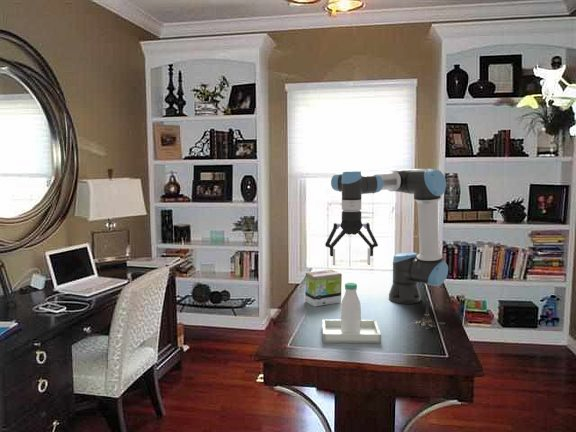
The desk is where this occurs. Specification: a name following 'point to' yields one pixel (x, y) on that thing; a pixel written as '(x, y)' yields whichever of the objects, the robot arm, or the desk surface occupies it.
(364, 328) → the tray
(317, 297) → the tea box
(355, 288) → the milk bottle
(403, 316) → the desk surface
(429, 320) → the eiffel tower figurine
